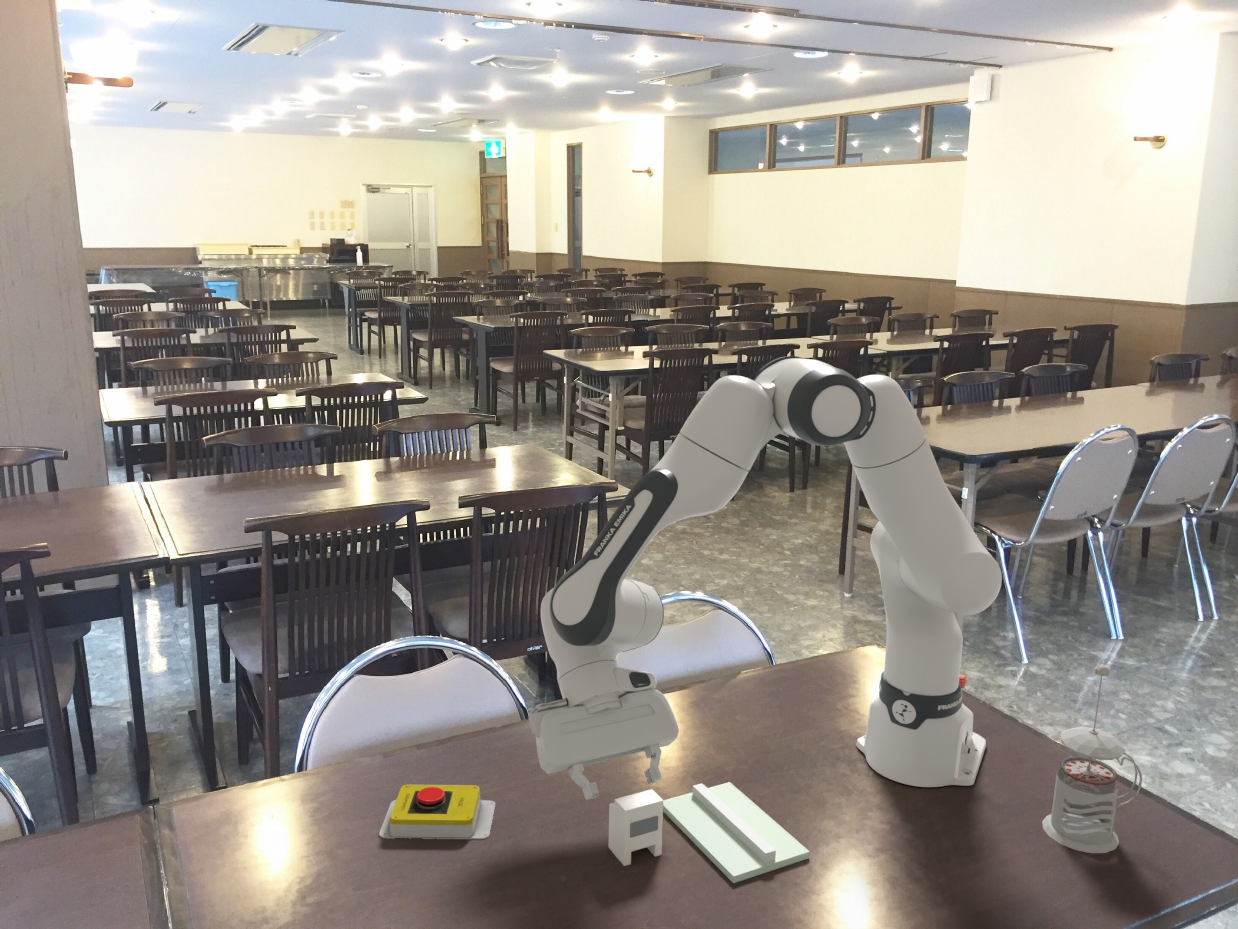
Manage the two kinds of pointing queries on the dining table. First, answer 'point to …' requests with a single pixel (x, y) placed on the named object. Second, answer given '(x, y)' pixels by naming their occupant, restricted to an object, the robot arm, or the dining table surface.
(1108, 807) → the french press
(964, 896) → the dining table surface
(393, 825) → the emergency button
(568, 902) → the dining table surface
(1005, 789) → the dining table surface
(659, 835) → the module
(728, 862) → the rail board
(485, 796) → the dining table surface
